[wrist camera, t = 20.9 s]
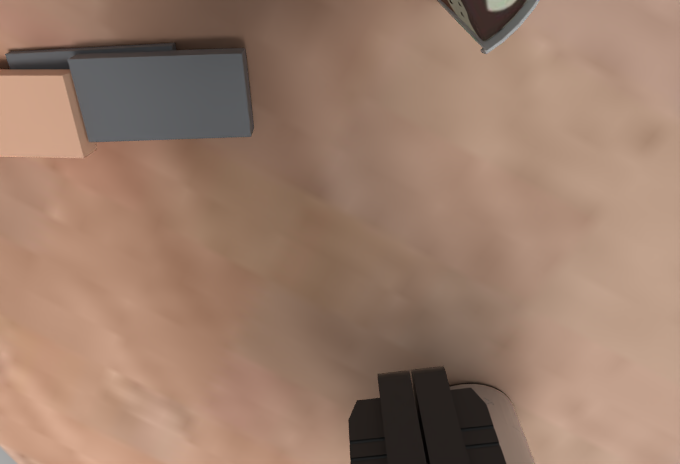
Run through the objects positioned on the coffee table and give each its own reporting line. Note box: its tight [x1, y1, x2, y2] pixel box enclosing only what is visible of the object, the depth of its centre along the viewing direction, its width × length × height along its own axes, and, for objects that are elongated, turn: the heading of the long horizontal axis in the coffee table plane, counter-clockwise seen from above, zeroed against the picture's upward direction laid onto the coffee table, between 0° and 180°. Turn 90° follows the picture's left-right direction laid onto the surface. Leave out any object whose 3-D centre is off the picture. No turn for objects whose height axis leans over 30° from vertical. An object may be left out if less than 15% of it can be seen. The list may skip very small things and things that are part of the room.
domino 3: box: [68, 48, 254, 142], centre depth 34 cm, size 5×2×10 cm
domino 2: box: [0, 69, 97, 158], centre depth 34 cm, size 5×2×10 cm
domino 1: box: [5, 43, 176, 69], centre depth 35 cm, size 5×2×10 cm
